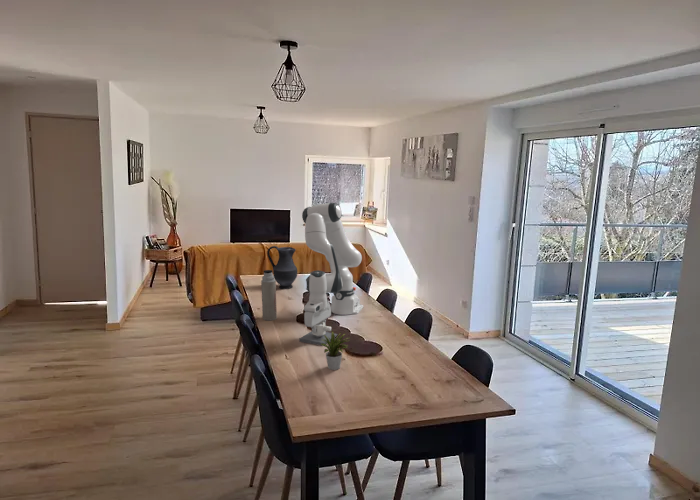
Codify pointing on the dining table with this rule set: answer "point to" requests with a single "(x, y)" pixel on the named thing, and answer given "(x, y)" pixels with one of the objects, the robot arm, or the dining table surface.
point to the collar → (321, 329)
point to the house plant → (334, 351)
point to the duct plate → (316, 338)
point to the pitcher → (284, 267)
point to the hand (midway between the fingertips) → (318, 330)
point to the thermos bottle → (268, 296)
